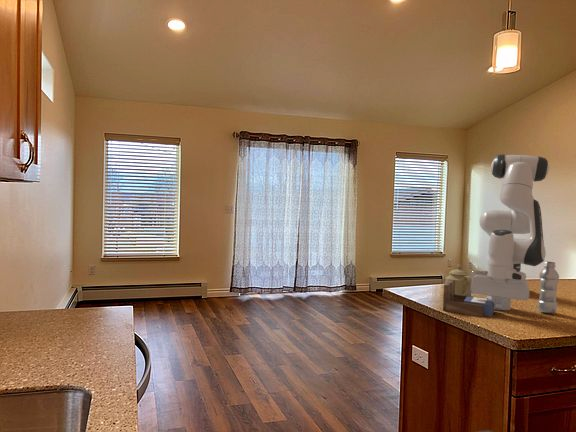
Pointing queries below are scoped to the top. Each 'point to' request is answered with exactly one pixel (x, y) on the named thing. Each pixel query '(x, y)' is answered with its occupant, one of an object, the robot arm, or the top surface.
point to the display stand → (459, 302)
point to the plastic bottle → (548, 288)
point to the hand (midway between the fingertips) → (498, 308)
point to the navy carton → (487, 304)
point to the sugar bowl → (460, 281)
